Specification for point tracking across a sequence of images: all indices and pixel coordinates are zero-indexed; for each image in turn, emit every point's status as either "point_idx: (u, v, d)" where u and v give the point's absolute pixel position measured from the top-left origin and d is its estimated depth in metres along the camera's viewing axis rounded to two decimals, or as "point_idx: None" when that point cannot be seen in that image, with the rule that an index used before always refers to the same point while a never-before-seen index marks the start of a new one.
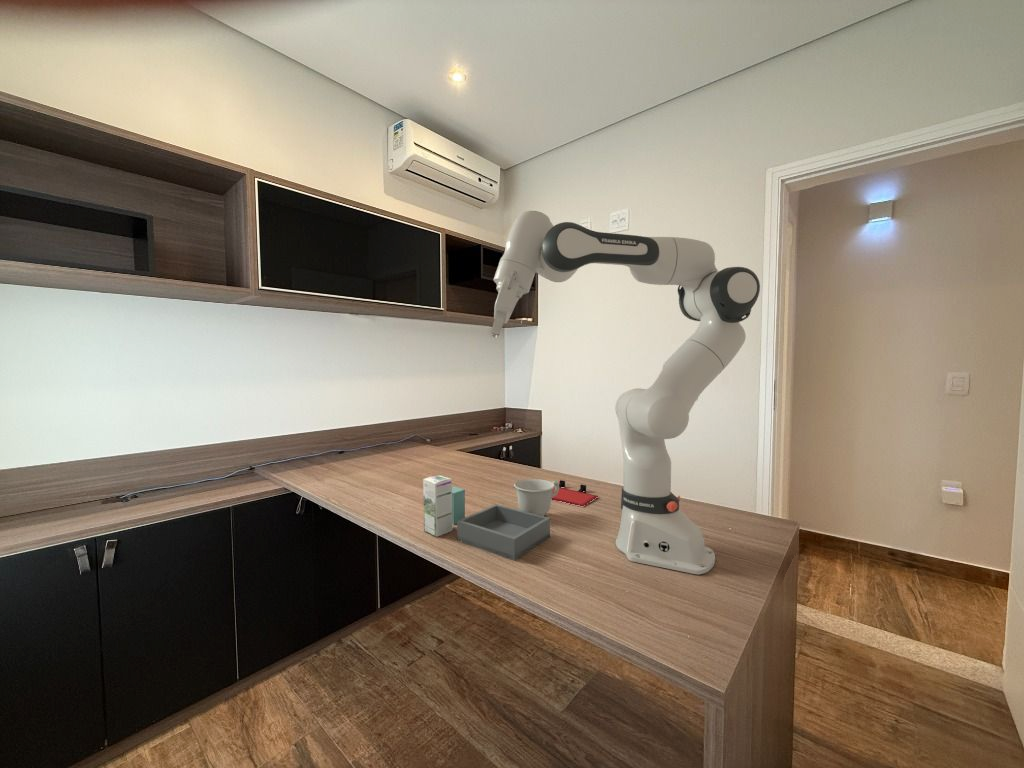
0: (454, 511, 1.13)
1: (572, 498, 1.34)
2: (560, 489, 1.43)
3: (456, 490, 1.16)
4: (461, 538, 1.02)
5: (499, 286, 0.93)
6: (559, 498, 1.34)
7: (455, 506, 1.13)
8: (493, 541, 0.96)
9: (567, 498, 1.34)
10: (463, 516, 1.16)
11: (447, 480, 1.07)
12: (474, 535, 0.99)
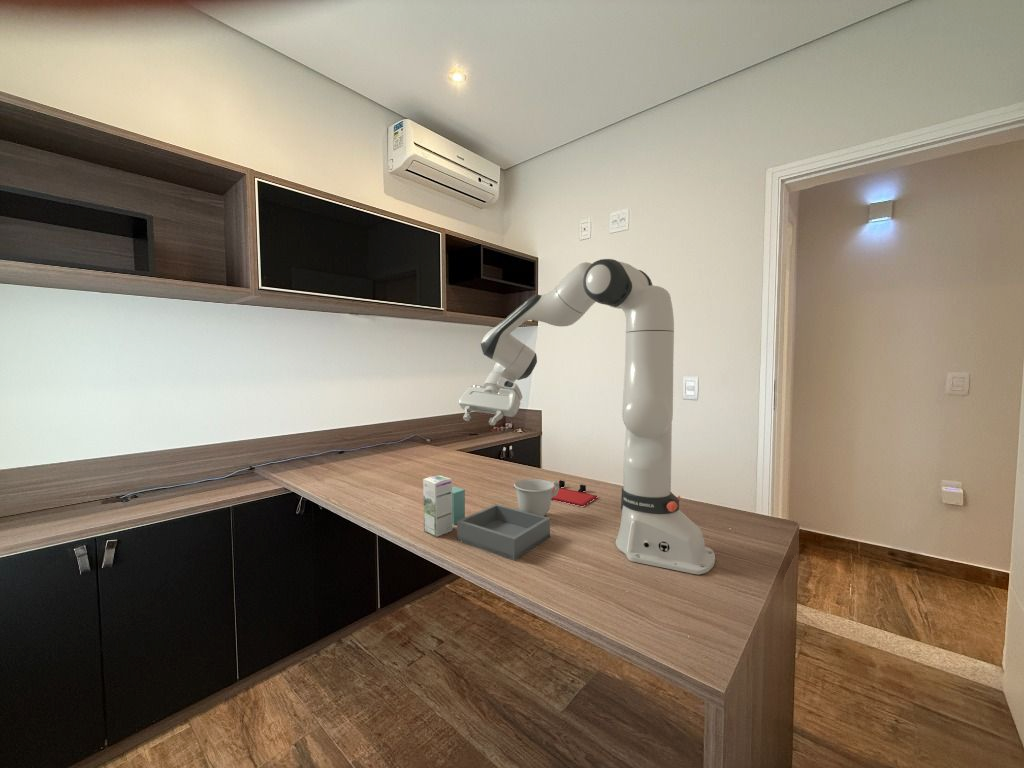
0: (454, 511, 1.13)
1: (572, 498, 1.34)
2: (560, 489, 1.43)
3: (456, 490, 1.16)
4: (461, 538, 1.02)
5: None
6: (559, 498, 1.34)
7: (455, 506, 1.13)
8: (493, 541, 0.96)
9: (567, 498, 1.34)
10: (463, 516, 1.16)
11: (447, 480, 1.07)
12: (474, 535, 0.99)
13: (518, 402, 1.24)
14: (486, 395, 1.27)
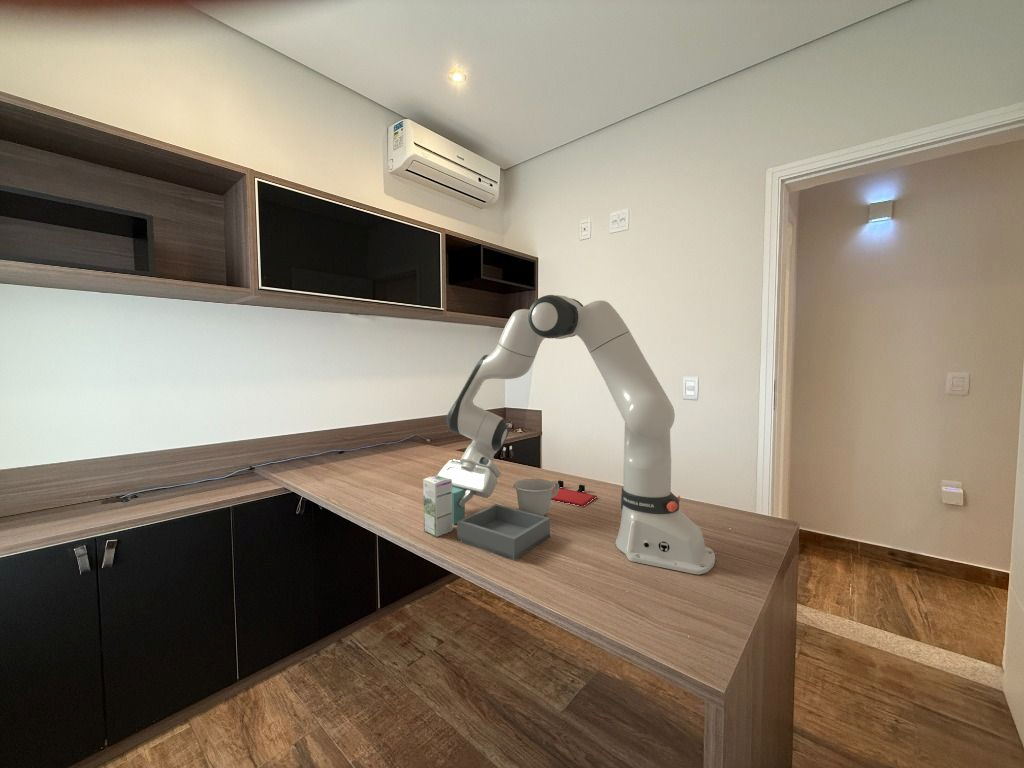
0: (454, 511, 1.13)
1: (571, 498, 1.34)
2: (559, 489, 1.43)
3: (456, 490, 1.16)
4: (461, 538, 1.02)
5: None
6: (558, 498, 1.34)
7: (455, 506, 1.13)
8: (493, 541, 0.96)
9: (567, 498, 1.34)
10: (463, 516, 1.16)
11: (447, 480, 1.07)
12: (474, 535, 0.99)
13: (494, 481, 1.15)
14: (462, 472, 1.20)
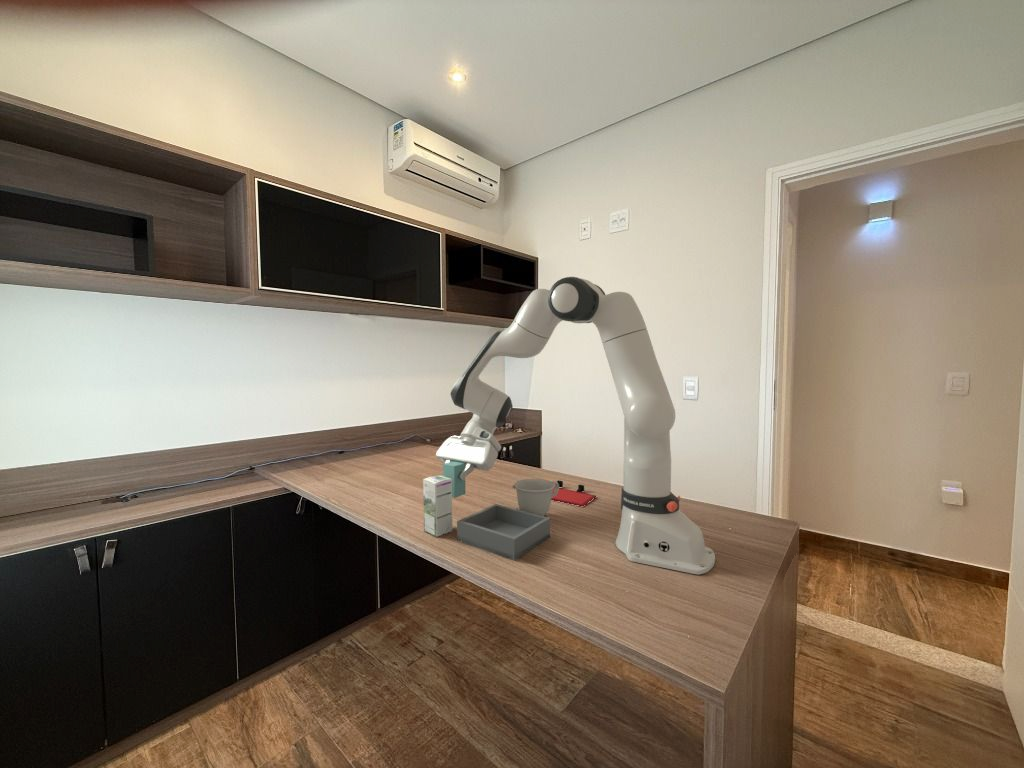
0: (455, 484, 1.13)
1: (571, 498, 1.34)
2: None
3: (457, 463, 1.15)
4: (461, 538, 1.02)
5: None
6: (558, 498, 1.34)
7: (455, 479, 1.13)
8: (493, 541, 0.96)
9: (567, 498, 1.34)
10: (464, 490, 1.16)
11: (447, 480, 1.07)
12: (474, 535, 0.99)
13: (494, 454, 1.15)
14: (462, 447, 1.20)
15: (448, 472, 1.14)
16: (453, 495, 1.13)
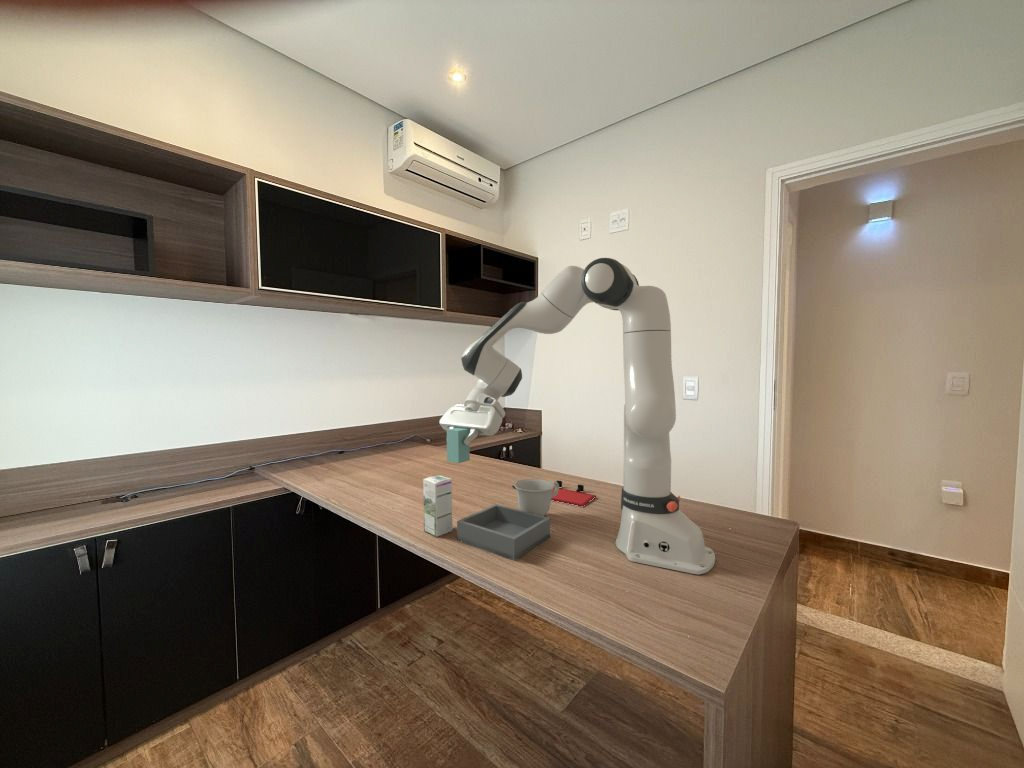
0: (459, 449, 1.11)
1: (571, 498, 1.34)
2: None
3: (460, 429, 1.14)
4: (461, 538, 1.02)
5: None
6: (558, 498, 1.34)
7: (460, 444, 1.12)
8: (493, 541, 0.96)
9: (566, 498, 1.34)
10: (468, 456, 1.14)
11: (447, 480, 1.07)
12: (474, 535, 0.99)
13: (499, 419, 1.14)
14: (466, 414, 1.18)
15: (452, 438, 1.12)
16: (457, 460, 1.11)
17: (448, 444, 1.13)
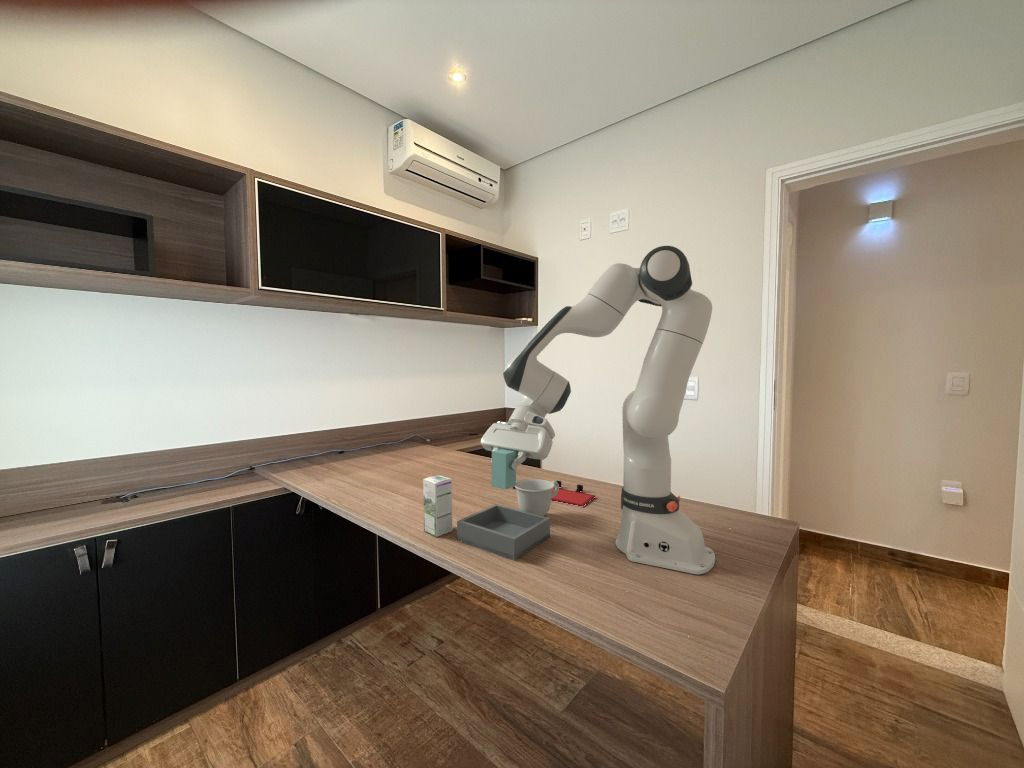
0: (506, 474, 1.01)
1: (571, 498, 1.34)
2: None
3: (507, 451, 1.03)
4: (461, 538, 1.02)
5: None
6: (558, 499, 1.33)
7: (507, 469, 1.01)
8: (493, 541, 0.96)
9: (566, 498, 1.34)
10: (514, 481, 1.04)
11: (447, 480, 1.07)
12: (474, 535, 0.99)
13: (550, 442, 1.03)
14: (512, 433, 1.08)
15: (498, 461, 1.02)
16: (504, 486, 1.01)
17: (493, 468, 1.03)
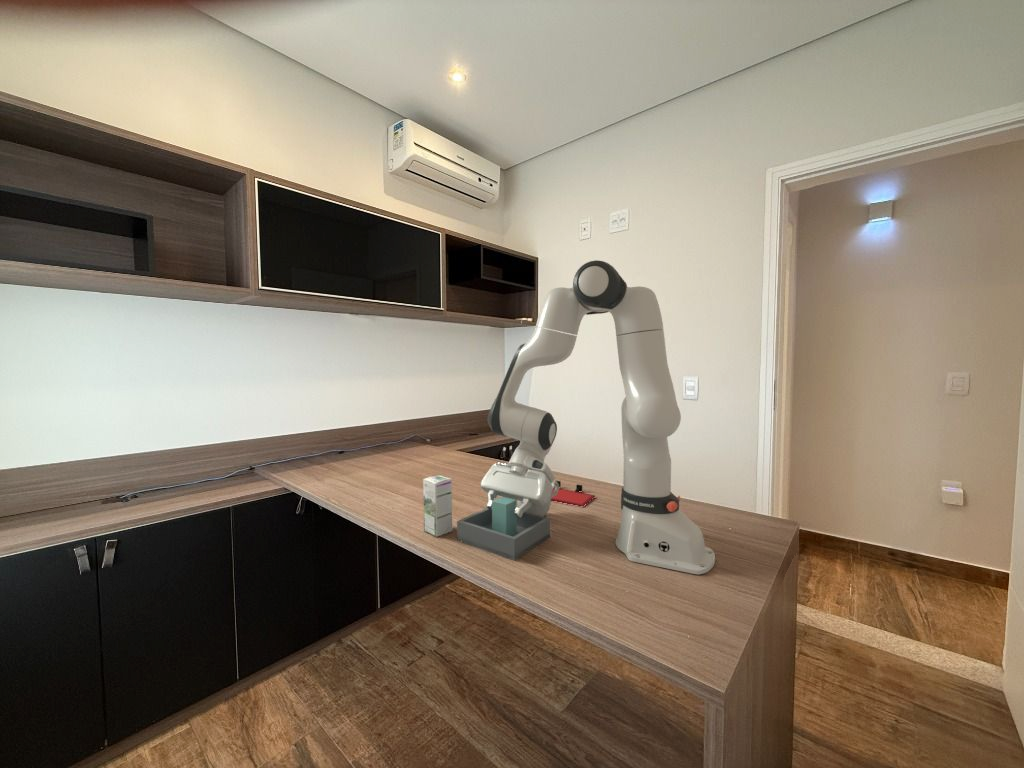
0: (506, 525, 1.01)
1: (570, 498, 1.34)
2: None
3: (507, 500, 1.04)
4: (461, 538, 1.02)
5: None
6: (558, 499, 1.33)
7: (507, 519, 1.01)
8: (493, 541, 0.96)
9: (566, 498, 1.34)
10: (515, 530, 1.04)
11: (447, 480, 1.07)
12: (474, 535, 0.99)
13: (549, 487, 1.03)
14: (512, 477, 1.08)
15: (498, 511, 1.02)
16: None
17: (494, 517, 1.03)
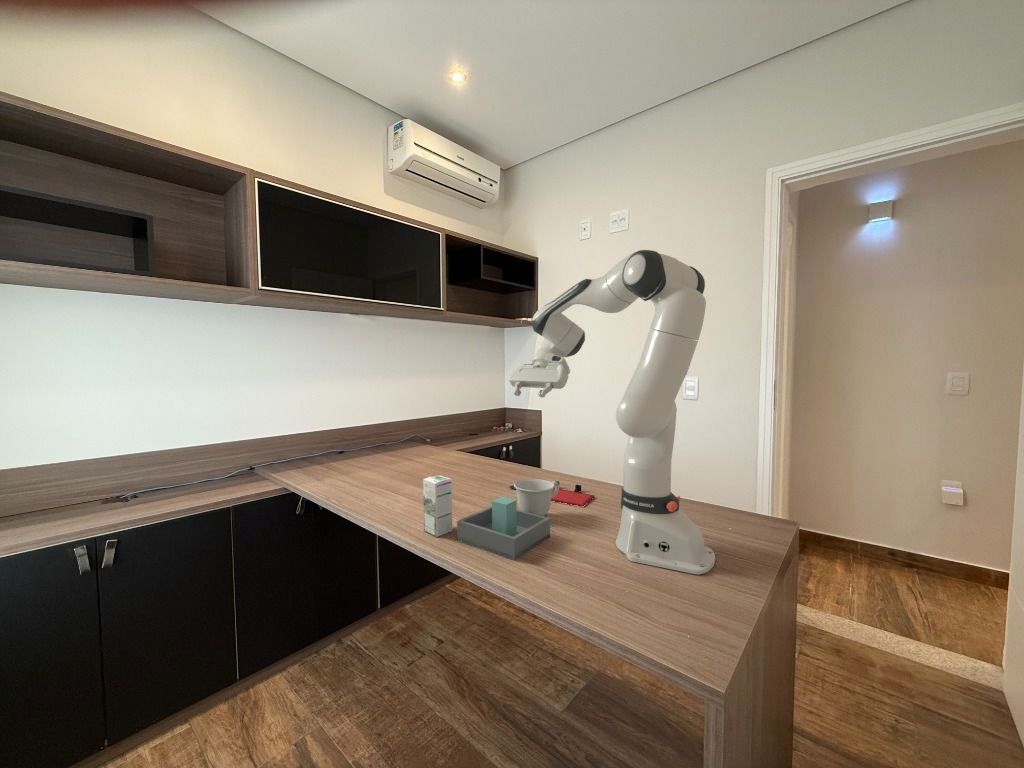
0: (506, 525, 1.01)
1: (570, 498, 1.34)
2: None
3: (507, 500, 1.04)
4: (461, 538, 1.02)
5: None
6: (557, 499, 1.33)
7: (507, 519, 1.01)
8: (493, 541, 0.96)
9: (566, 498, 1.34)
10: (515, 530, 1.04)
11: (447, 480, 1.07)
12: (474, 535, 0.99)
13: (566, 375, 1.27)
14: (535, 371, 1.32)
15: (498, 511, 1.02)
16: None
17: (494, 517, 1.03)
